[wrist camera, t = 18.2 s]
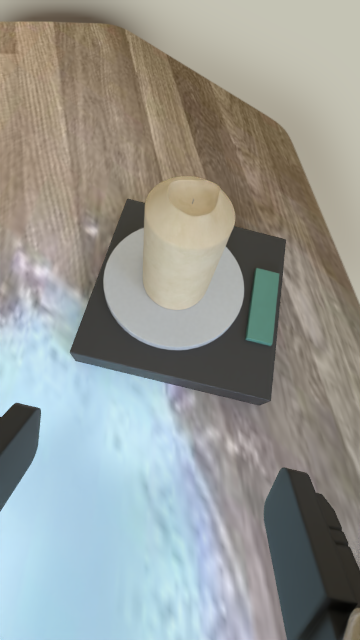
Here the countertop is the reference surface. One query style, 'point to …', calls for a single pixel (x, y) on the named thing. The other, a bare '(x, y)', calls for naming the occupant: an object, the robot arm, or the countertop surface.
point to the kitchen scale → (188, 317)
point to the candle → (184, 239)
